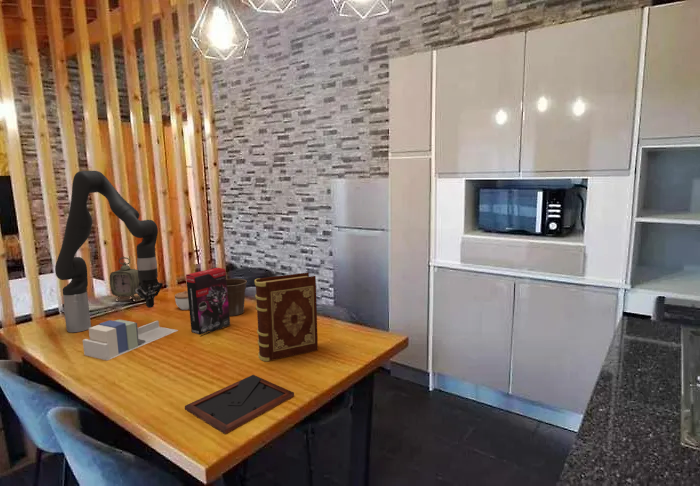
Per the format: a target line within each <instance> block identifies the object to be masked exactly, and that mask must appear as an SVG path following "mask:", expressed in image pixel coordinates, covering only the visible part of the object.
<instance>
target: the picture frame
mask: <svg viewBox="0 0 700 486" xmlns="http://www.w3.org/2000/svg"><path fill="white" fill-rule="evenodd" d="M294 397H295V392H294V391H291V390H290V389H286V388H284V387H282V386H280V385H277V384H276V383H273V382H271V381H269V380H266V379H264V378H262V377H259V376H257V375H255V374H251V375H250V376H247V377H245V378H243V379H240V380H238V381H236V382H234V383H232V384H228V386H225V387H223V388H221V389H218V390H216V391H214V392H212V393H209V394H208V395H205V396H203V397H201V398H199V399H196V400H194V401H192V402H190V403H188V404H185V405H184V410H186V411H187V412H188V413H190V414H192V415H193V416H195V417H196V418H198V419H200V420H202V421H203V422H205V423H206V424H207V425H210V426H211V427H212V428H214V429H216V430H218V431H219V432H221V433H223V434H224V435H227V434H228V433H230V432H232V431H234V430H236V429H237V428H239V427H241V426H243V425H244V424H247V423H248V422H250V421H252V420H254V419H255V418H258V417H259V416H260V415H263V414H264V413H266V412H268V411H269V410H271V409H273V408H275V407H277V406H279V405H280V404H282V403H284V402H286V401H288V400H290V399H291V398H294Z"/></svg>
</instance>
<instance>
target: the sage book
mask: <svg viewBox="0 0 700 486" xmlns="http://www.w3.org/2000/svg"><path fill="white" fill-rule="evenodd" d="M114 321H117V322H123V323H125V324H126V333H127V343H128V350H130V349H133V348H135V347H138V342H137V332H136V323H137V322H134V321H129V320H126V319H125V320H124V319H120V318H119V319H115V320H114ZM138 348H139V347H138ZM133 350H134V349H133Z"/></svg>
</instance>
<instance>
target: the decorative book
mask: <svg viewBox="0 0 700 486" xmlns="http://www.w3.org/2000/svg"><path fill="white" fill-rule="evenodd" d="M316 278H317V277H316V275H312V276H310V272H301V273H300V272H299V273H291V274H285V275H278V276H270V277H268V276H267V277H262V278H261V277H260V278H256V279H254V285H255V299H256V305H255V309H256V315H257V317H256V318H257V329H256V333H257V335H258V336H257V337H258V339H257V345H258V355H257V356H258V359H259V360H261V361H263V362H269V361H274V360H279V359H284V358H288V357H293V356H297V355H301V354H307V353H311V352H315V351H316V352H317V351H318V347H319V346H318V345H319V343H318V341H319V340H318V311H317V309H318V308H317V306H318V305H317V280H316Z"/></svg>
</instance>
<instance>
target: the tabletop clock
mask: <svg viewBox="0 0 700 486" xmlns="http://www.w3.org/2000/svg"><path fill="white" fill-rule="evenodd" d="M122 259H124V260H125V259H126V260H128V263H126V262H125V261H124V262H121V260H122ZM118 263H119V264H120V265H121V266H120V269H118V270H115V271H112V272H110V274H109V286H110V291H111V294H112V295H113V296H115V297H117V298H118V297H119V298H120V297H122V298H123V297H130V296H131V297H132V298H133V297H134V298H135V295H136V294H137V293H136V292H135V291H134V289H137V288H138V287H139V279H138V270H137V268H136V269H135V268H131V267H130V266H129V264H131V260H130V258H129V257H124V256H123V257H120V258H119V259H118ZM137 295H138V294H137Z"/></svg>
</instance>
